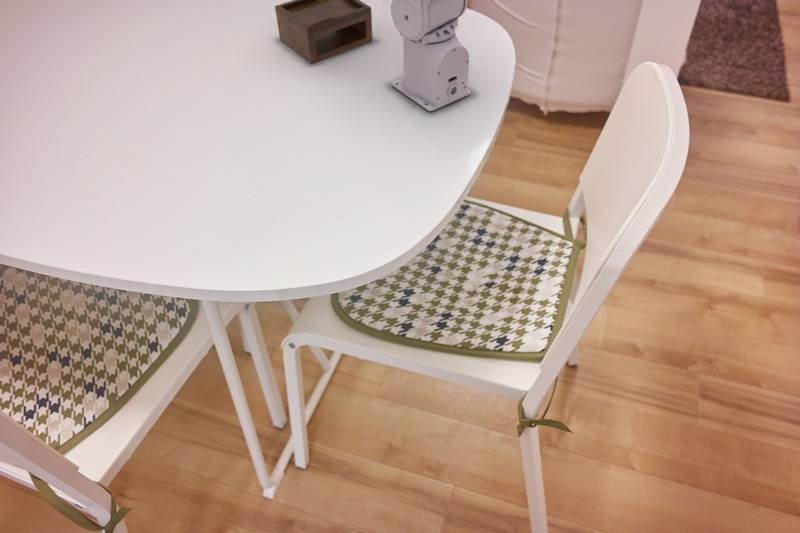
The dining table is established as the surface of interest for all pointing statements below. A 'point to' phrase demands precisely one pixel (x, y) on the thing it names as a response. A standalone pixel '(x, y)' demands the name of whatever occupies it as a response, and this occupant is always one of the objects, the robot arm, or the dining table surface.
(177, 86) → the dining table surface
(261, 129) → the dining table surface
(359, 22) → the walnut box
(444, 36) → the robot arm
